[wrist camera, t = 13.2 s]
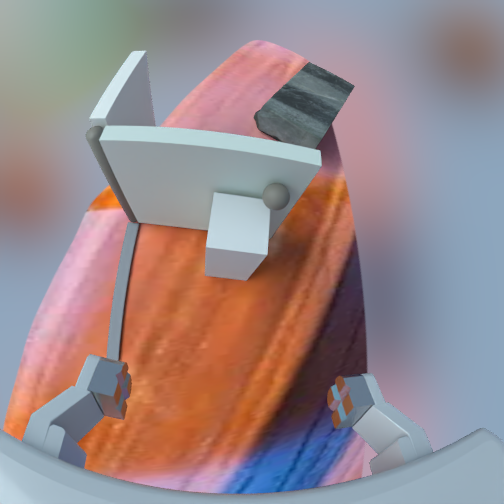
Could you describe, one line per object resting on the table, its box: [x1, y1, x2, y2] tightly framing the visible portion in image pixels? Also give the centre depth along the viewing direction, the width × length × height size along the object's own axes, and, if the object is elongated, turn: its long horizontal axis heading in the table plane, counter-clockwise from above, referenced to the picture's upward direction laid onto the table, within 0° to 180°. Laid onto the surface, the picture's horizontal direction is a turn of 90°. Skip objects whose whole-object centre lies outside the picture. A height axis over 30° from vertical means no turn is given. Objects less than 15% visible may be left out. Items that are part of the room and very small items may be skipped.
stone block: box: [254, 62, 354, 149], centre depth 32 cm, size 9×14×5 cm, turn 149°
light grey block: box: [205, 192, 270, 281], centre depth 23 cm, size 4×4×9 cm
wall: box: [89, 51, 156, 361], centre depth 19 cm, size 23×1×14 cm, turn 175°
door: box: [86, 126, 322, 238], centre depth 21 cm, size 15×5×13 cm, turn 86°
